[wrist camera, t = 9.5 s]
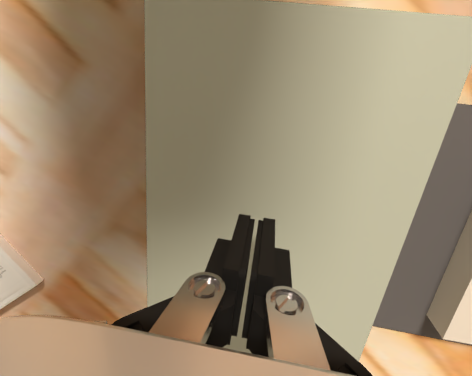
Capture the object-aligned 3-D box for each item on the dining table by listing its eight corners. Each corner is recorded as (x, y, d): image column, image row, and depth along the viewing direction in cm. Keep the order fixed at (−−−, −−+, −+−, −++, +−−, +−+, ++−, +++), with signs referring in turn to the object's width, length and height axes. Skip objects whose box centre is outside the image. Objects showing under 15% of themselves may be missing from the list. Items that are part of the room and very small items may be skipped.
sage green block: (177, 16, 15) (144, -10, 12) (432, 38, 14) (489, 17, 10) (169, 309, 23) (147, 350, 19) (333, 344, 21) (345, 396, 18)
